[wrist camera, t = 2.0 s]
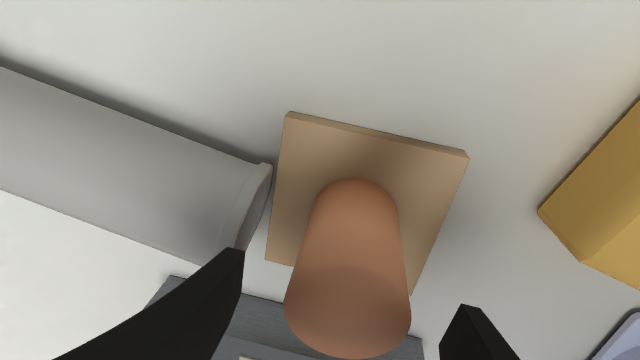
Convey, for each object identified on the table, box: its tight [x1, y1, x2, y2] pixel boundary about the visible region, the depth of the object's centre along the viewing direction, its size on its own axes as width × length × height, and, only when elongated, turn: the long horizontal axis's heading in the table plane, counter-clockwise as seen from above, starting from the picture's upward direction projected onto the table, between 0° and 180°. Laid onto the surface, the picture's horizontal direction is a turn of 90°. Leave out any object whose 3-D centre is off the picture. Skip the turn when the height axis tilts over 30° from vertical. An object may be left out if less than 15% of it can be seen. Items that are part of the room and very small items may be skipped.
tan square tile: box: [265, 111, 470, 296], centre depth 16 cm, size 8×8×1 cm
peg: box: [283, 178, 411, 359], centre depth 13 cm, size 4×4×6 cm
